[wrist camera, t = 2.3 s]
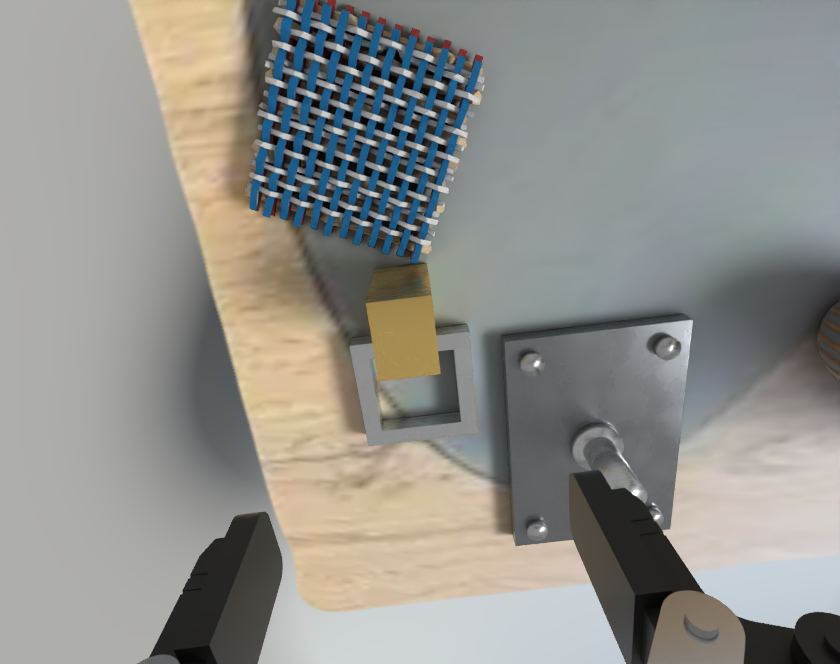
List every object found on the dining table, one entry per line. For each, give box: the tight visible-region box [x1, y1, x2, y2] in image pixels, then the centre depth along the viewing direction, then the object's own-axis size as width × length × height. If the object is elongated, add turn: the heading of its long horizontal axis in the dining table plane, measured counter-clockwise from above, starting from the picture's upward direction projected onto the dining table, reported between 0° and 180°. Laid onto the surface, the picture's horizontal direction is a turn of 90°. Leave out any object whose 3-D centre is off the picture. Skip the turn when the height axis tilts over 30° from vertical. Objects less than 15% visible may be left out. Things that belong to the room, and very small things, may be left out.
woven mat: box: [244, 0, 485, 264], centre depth 24 cm, size 10×11×2 cm
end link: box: [349, 263, 478, 446], centre depth 26 cm, size 11×7×6 cm, turn 7°
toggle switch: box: [501, 314, 693, 546], centre depth 29 cm, size 16×11×6 cm
